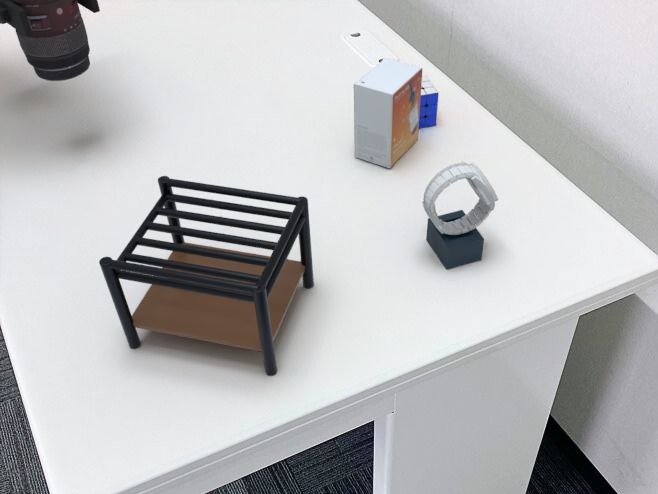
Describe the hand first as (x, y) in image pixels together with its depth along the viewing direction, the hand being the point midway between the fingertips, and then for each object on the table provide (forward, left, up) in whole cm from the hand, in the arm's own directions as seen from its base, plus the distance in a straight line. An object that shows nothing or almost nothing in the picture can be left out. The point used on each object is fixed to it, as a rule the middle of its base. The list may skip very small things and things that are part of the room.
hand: (60, 11), depth 84 cm
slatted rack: (+26, -23, -19) cm, 40 cm away
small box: (+36, +11, -20) cm, 42 cm away
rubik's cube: (+38, +19, -20) cm, 47 cm away
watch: (+48, -7, -20) cm, 52 cm away
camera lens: (-4, +3, -9) cm, 10 cm away
